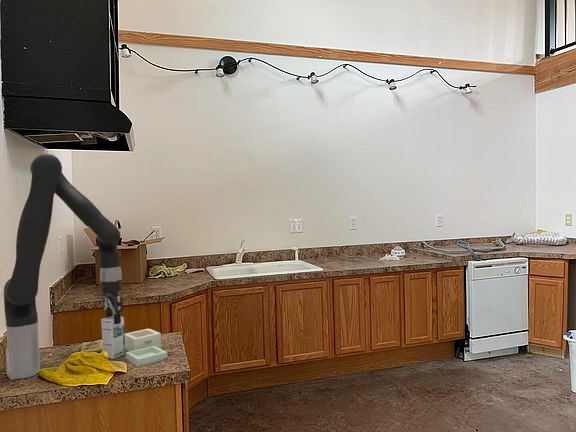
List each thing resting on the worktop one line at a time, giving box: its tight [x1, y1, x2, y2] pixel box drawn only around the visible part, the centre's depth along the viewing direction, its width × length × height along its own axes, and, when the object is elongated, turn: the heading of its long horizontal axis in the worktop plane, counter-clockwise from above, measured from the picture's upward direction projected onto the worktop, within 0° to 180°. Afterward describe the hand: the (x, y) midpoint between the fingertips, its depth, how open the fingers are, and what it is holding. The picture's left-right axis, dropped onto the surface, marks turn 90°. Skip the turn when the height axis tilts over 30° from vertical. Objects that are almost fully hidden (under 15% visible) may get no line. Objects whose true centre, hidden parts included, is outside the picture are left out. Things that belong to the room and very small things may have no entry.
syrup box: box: [100, 315, 127, 360], centre depth 168 cm, size 6×6×14 cm
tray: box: [125, 346, 169, 368], centre depth 163 cm, size 11×11×2 cm
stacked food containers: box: [124, 328, 162, 352], centre depth 175 cm, size 11×11×6 cm
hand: (113, 322), depth 168 cm, fingers open, 8 cm apart
